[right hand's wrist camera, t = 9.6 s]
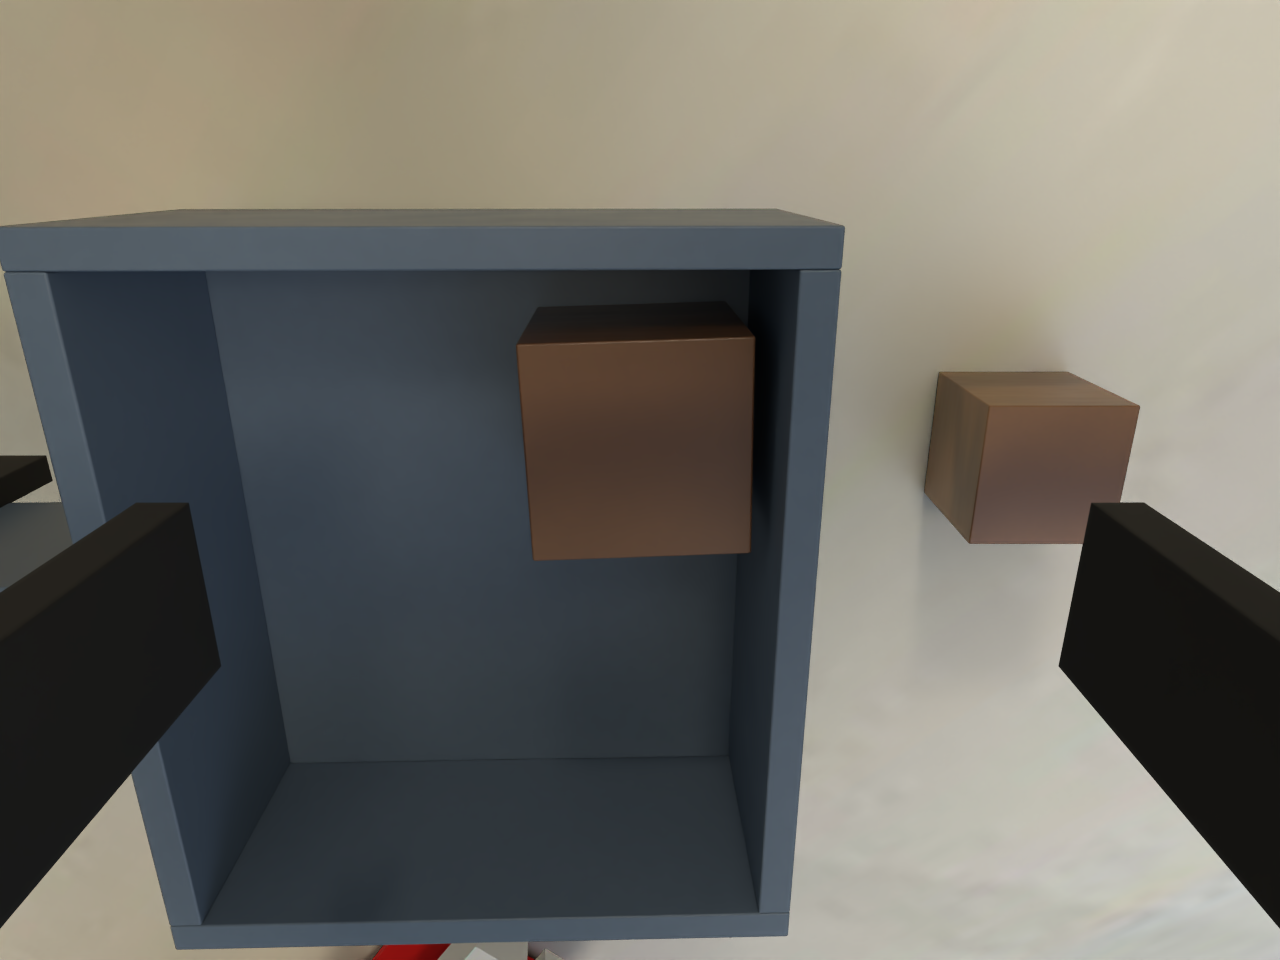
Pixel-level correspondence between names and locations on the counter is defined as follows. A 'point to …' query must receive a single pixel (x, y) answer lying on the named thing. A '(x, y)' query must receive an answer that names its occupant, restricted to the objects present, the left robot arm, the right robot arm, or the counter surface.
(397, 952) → the toy
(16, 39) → the counter surface
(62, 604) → the right robot arm
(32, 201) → the counter surface
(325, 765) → the tray
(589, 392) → the walnut block
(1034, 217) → the counter surface
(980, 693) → the counter surface
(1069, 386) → the walnut block
